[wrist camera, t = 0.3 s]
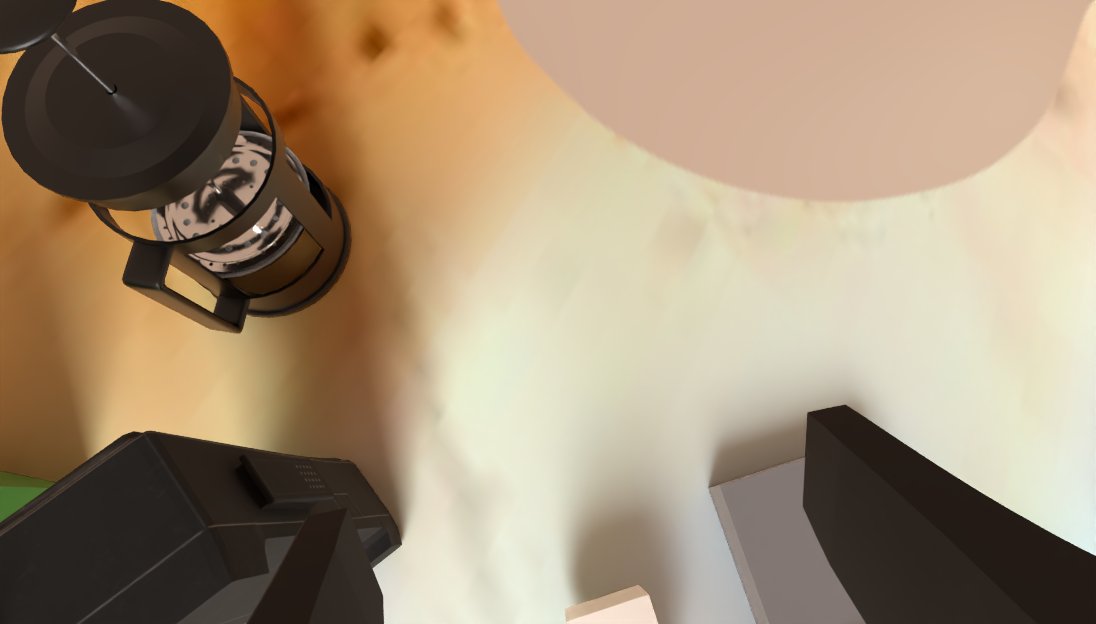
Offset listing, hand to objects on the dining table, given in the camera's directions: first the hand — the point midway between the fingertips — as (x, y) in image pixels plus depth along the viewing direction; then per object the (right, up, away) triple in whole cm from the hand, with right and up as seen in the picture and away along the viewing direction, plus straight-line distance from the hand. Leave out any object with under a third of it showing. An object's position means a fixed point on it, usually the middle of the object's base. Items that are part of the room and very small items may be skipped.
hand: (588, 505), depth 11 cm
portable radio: (-12, -9, +29) cm, 33 cm away
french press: (-17, +7, +34) cm, 38 cm away
